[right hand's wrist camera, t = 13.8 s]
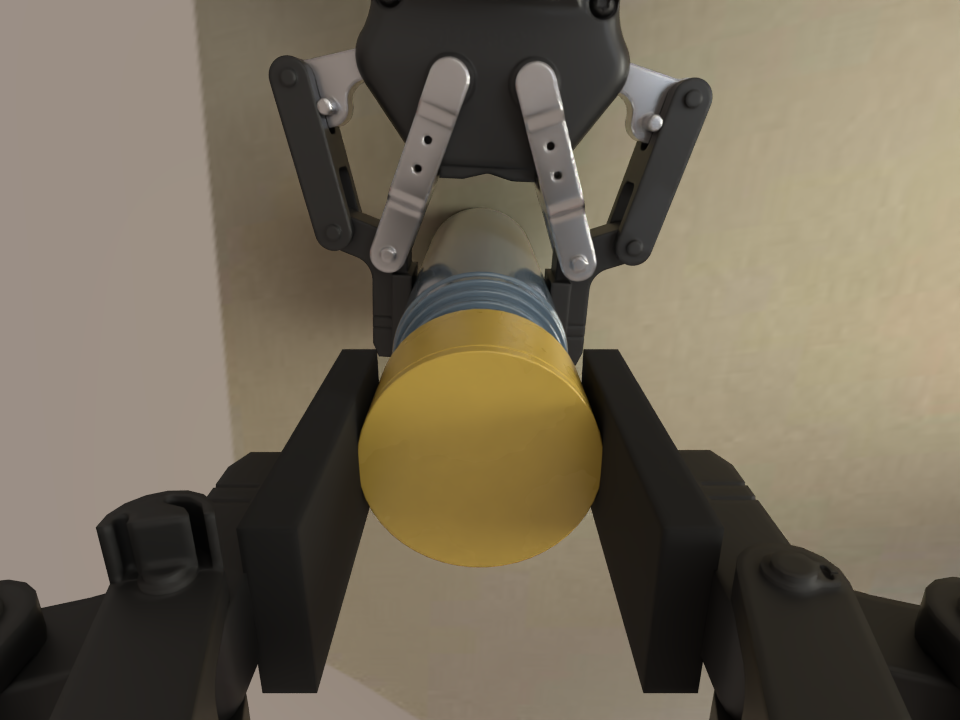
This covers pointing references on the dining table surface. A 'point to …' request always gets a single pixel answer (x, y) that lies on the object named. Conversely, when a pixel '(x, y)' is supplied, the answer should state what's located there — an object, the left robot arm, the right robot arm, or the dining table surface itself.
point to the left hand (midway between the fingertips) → (477, 367)
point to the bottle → (480, 274)
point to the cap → (480, 441)
